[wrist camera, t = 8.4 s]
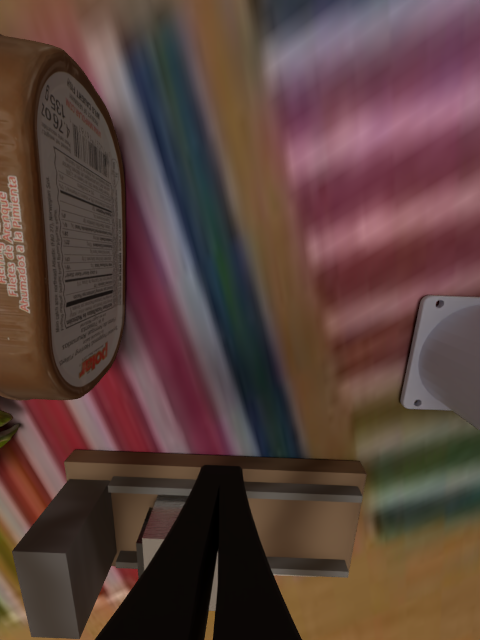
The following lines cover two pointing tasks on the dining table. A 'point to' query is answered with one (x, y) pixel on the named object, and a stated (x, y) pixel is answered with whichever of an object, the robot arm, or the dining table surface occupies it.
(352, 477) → the base
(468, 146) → the dining table surface
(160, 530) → the block
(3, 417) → the passion flower
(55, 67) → the tin
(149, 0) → the dining table surface
